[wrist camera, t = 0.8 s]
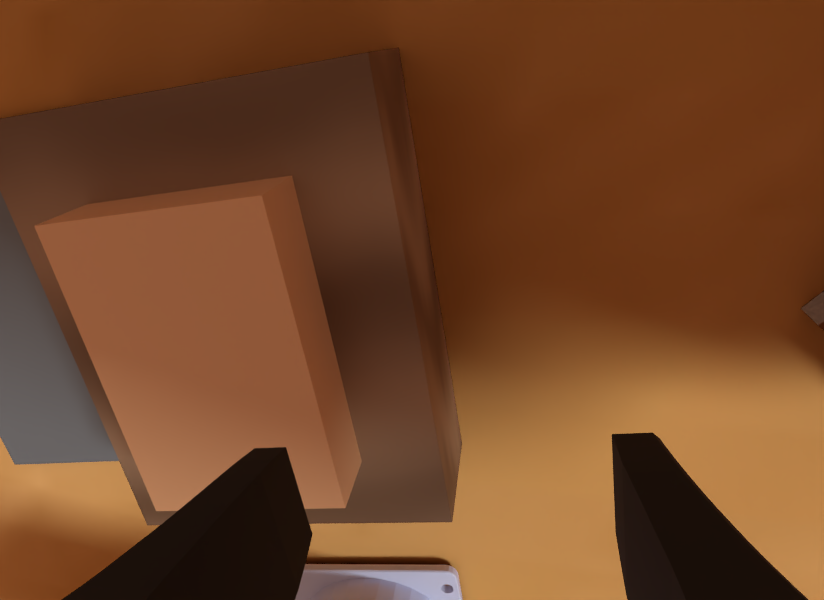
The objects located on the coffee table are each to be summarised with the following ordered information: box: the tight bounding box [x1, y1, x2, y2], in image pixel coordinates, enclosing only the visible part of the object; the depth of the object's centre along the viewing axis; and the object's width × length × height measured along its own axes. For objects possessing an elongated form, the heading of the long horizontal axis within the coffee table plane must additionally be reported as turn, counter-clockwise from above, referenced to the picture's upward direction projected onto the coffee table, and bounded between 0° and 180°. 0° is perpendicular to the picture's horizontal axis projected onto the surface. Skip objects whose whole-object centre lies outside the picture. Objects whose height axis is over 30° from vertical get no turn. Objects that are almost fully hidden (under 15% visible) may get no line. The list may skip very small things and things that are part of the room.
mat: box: [0, 191, 119, 464], centre depth 23 cm, size 14×9×1 cm, turn 9°
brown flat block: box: [0, 48, 462, 525], centre depth 19 cm, size 14×11×4 cm
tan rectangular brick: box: [34, 176, 362, 511], centre depth 16 cm, size 9×6×2 cm, turn 10°
